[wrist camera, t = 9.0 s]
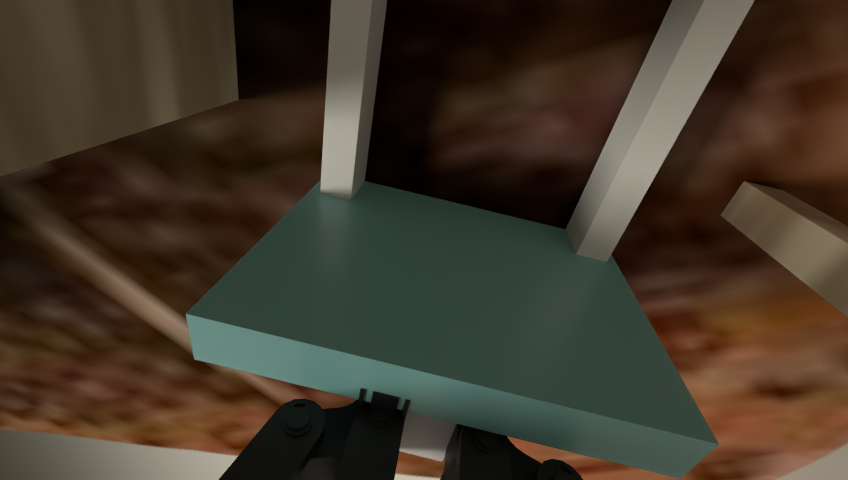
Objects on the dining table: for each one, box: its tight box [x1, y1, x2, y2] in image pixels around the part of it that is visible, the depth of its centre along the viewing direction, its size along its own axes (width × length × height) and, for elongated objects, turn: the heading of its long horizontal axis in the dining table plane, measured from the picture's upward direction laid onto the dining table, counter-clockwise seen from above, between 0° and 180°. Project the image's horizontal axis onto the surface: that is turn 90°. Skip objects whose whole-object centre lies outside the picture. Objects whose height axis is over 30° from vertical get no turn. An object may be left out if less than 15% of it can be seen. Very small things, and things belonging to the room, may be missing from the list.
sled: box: [186, 0, 755, 479], centre depth 9 cm, size 12×16×9 cm
